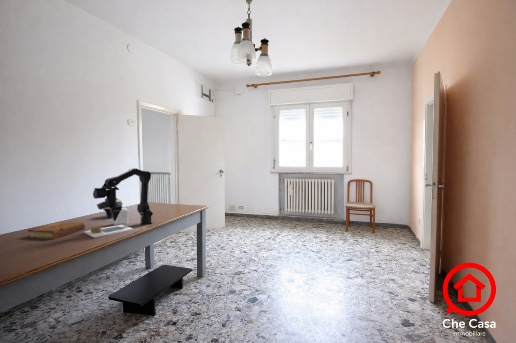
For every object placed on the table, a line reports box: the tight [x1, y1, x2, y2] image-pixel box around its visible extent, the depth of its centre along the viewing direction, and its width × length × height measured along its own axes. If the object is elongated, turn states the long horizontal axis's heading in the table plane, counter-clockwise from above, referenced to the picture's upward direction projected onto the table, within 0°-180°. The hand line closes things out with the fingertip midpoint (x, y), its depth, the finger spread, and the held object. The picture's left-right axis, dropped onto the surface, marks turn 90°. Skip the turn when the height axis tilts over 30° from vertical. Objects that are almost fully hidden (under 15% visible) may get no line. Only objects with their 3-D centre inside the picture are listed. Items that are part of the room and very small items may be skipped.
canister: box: [105, 198, 124, 219], centre depth 223 cm, size 13×13×18 cm
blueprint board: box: [83, 224, 134, 238], centre depth 179 cm, size 24×18×4 cm
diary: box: [27, 221, 86, 240], centre depth 173 cm, size 23×19×6 cm
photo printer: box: [112, 207, 129, 226], centre depth 199 cm, size 10×4×12 cm, turn 124°
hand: (111, 219), depth 180 cm, fingers open, 9 cm apart
